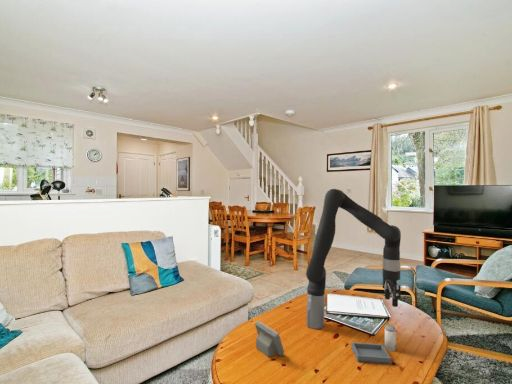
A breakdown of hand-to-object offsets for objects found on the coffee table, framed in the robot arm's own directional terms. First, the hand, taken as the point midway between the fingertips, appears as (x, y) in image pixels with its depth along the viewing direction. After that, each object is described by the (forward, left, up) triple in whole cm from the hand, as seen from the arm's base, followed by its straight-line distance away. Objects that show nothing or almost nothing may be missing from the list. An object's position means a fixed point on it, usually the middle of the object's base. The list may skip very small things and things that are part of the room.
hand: (391, 302), depth 125 cm
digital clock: (-57, -9, -21) cm, 61 cm away
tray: (-12, -8, -20) cm, 25 cm away
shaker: (-1, -1, -21) cm, 21 cm away
